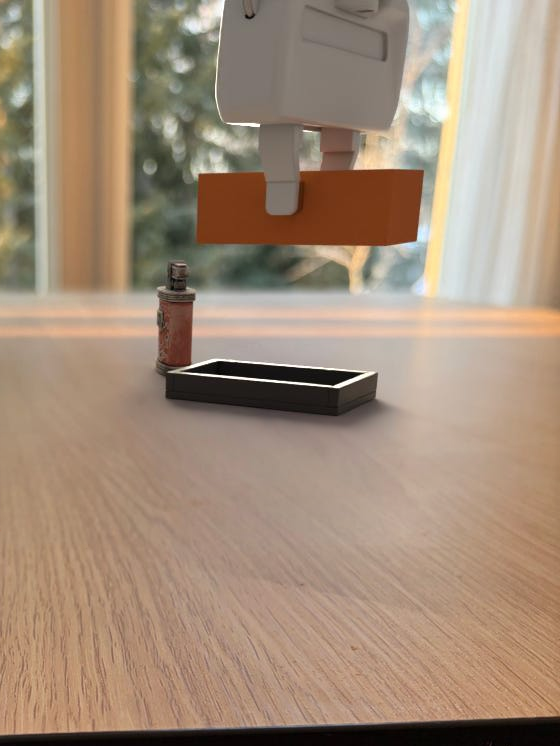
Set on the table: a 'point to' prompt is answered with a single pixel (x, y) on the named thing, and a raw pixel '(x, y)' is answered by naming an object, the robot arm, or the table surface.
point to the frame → (273, 386)
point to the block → (313, 209)
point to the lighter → (175, 319)
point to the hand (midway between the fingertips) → (307, 213)
